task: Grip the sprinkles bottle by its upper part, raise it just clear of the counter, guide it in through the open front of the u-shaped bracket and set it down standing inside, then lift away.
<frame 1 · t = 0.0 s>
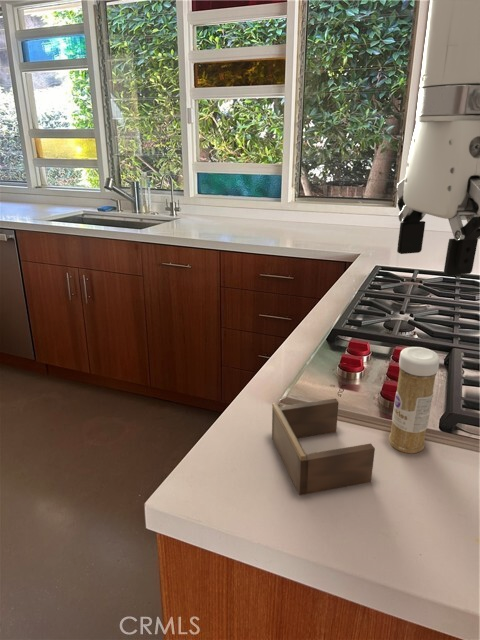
hand: (431, 262, 56), 24 cm above the countertop, tool pointing down, fingers open, 9 cm apart
u-shaped bracket: (321, 458, 59), on the countertop
sprinkles bottle: (406, 445, 61), on the countertop
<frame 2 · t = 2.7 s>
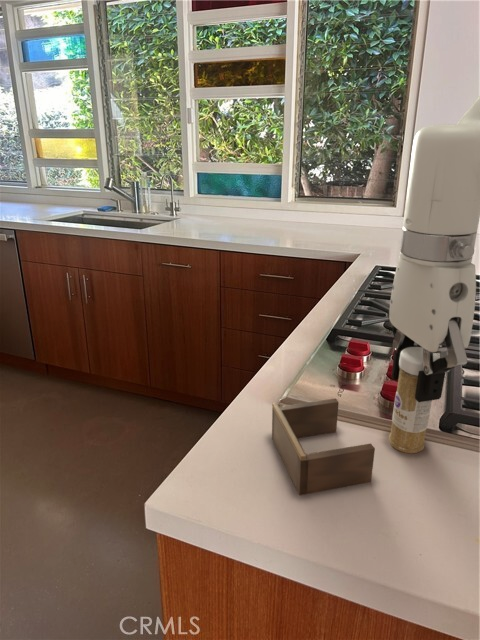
hand: (415, 386, 58), 9 cm above the countertop, tool pointing down, fingers closed on sprinkles bottle, 4 cm apart
sprinkles bottle: (406, 445, 61), on the countertop, touching gripper
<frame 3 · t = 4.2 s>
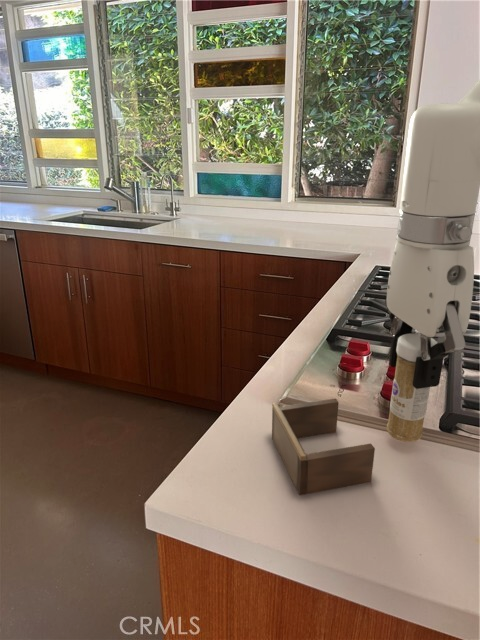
hand: (412, 374, 57), 11 cm above the countertop, tool pointing down, fingers closed on sprinkles bottle, 4 cm apart
sprinkles bottle: (404, 434, 61), point 2 cm above the countertop, touching gripper
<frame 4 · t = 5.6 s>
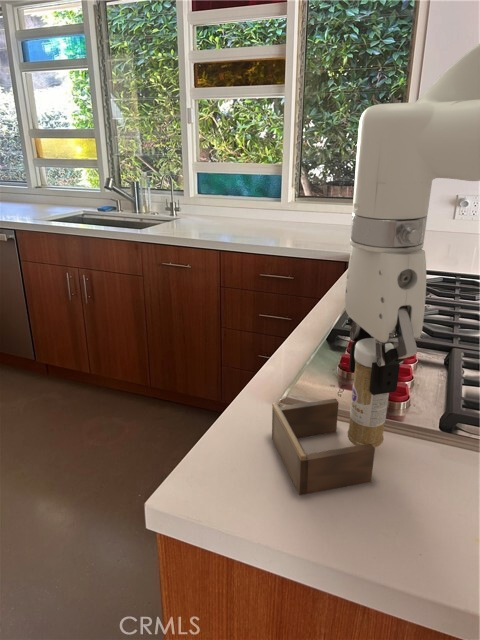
hand: (371, 379, 56), 11 cm above the countertop, tool pointing down, fingers closed on sprinkles bottle, 4 cm apart
sprinkles bottle: (365, 440, 60), point 2 cm above the countertop, touching gripper
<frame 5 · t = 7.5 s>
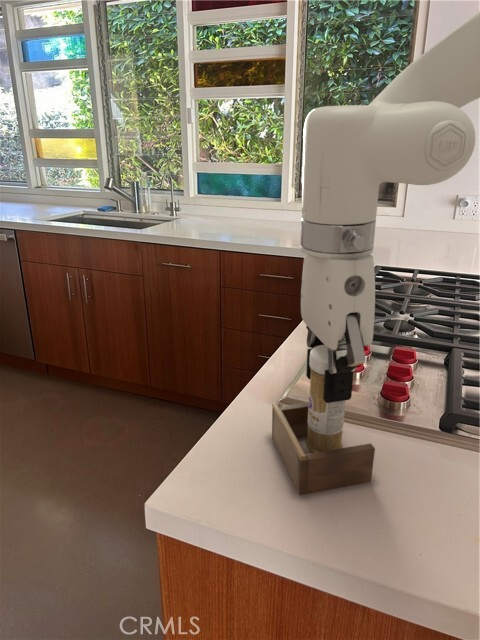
hand: (327, 386, 55), 11 cm above the countertop, tool pointing down, fingers closed on sprinkles bottle, 4 cm apart
sprinkles bottle: (324, 448, 58), point 2 cm above the countertop, touching gripper
when the fingers open (9 cm above the countertop, at t = 8.7 s): sprinkles bottle stays where it is, on the countertop.
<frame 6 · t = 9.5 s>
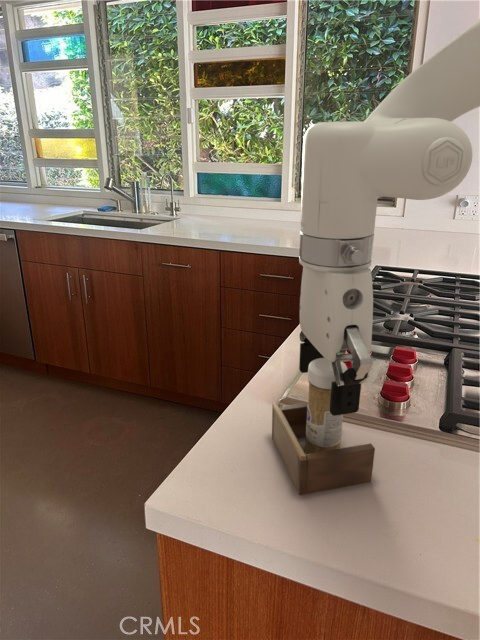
hand: (326, 390, 55), 10 cm above the countertop, tool pointing down, fingers open, 9 cm apart
sprinkles bottle: (321, 459, 59), on the countertop
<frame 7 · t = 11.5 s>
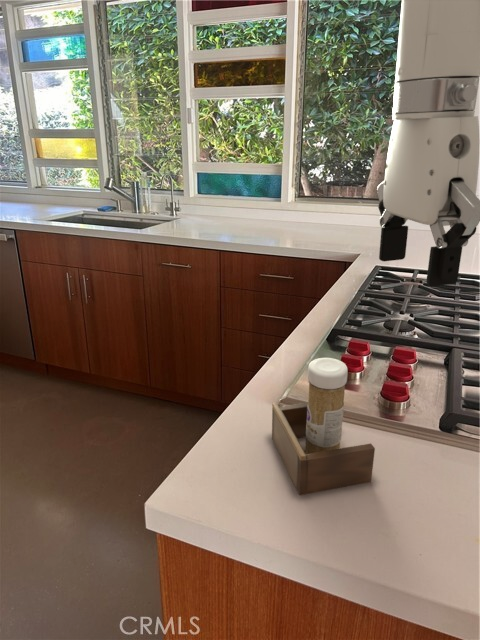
hand: (414, 271, 52), 24 cm above the countertop, tool pointing down, fingers open, 9 cm apart
nothing on the countertop moved.
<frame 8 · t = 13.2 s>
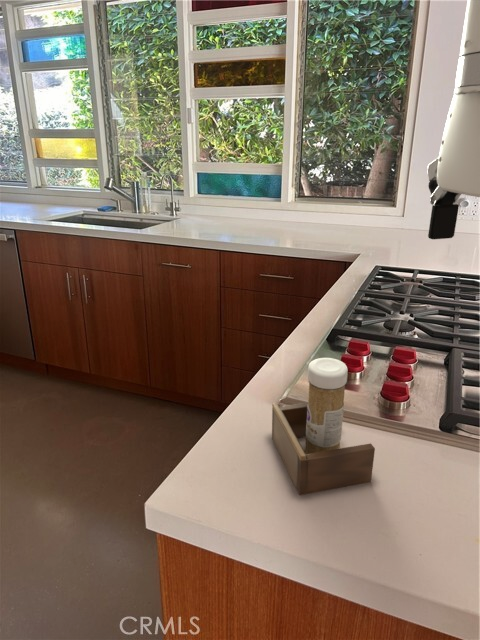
hand: (467, 247, 52), 26 cm above the countertop, tool pointing down, fingers open, 9 cm apart
nothing on the countertop moved.
at the end: sprinkles bottle inside the target area on the u-shaped bracket (0.0 cm from its centre), point 0.0 cm above the u-shaped bracket's base; sprinkles bottle tilted 0° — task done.
